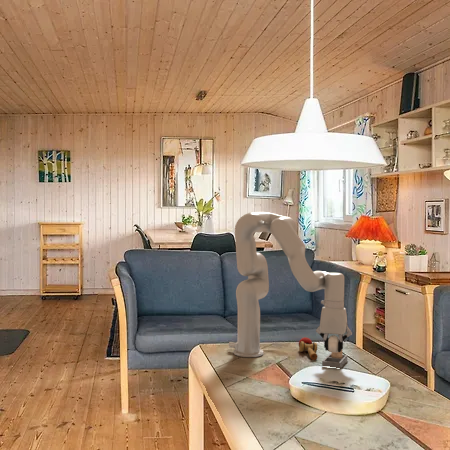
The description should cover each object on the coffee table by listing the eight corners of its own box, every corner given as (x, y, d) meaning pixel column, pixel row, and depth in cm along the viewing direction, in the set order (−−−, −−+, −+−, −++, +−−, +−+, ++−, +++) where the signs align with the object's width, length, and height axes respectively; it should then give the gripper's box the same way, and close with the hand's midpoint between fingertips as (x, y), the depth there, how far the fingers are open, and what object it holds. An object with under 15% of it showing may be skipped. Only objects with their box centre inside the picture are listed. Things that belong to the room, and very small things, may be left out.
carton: (322, 367, 237) (322, 350, 237) (330, 359, 249) (330, 343, 249) (339, 369, 234) (340, 352, 234) (347, 361, 247) (347, 344, 246)
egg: (326, 351, 238) (326, 335, 237) (329, 349, 242) (329, 333, 241) (337, 352, 236) (338, 337, 236) (340, 350, 240) (340, 334, 240)
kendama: (324, 363, 249) (313, 346, 267) (323, 348, 248) (311, 333, 265) (306, 366, 248) (296, 349, 266) (304, 352, 247) (294, 336, 265)
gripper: (310, 304, 238) (310, 350, 239) (353, 307, 231) (353, 355, 232) (315, 301, 245) (315, 346, 245) (357, 304, 238) (356, 350, 239)
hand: (333, 350), depth 239 cm, fingers closed on egg, 4 cm apart
